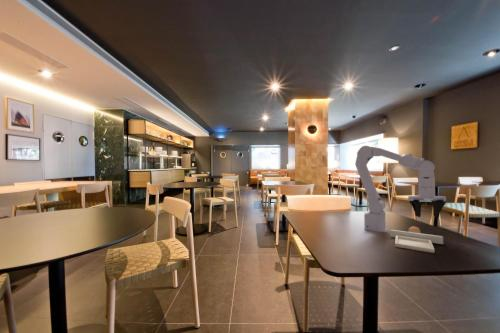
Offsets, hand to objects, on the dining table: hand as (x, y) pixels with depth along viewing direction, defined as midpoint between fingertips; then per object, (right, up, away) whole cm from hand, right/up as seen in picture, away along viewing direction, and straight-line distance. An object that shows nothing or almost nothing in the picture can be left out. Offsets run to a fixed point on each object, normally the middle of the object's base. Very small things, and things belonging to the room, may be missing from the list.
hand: (427, 216), depth 94 cm
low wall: (-8, -10, -3) cm, 13 cm away
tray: (-13, -10, -9) cm, 19 cm away
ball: (-4, -7, +2) cm, 9 cm away
